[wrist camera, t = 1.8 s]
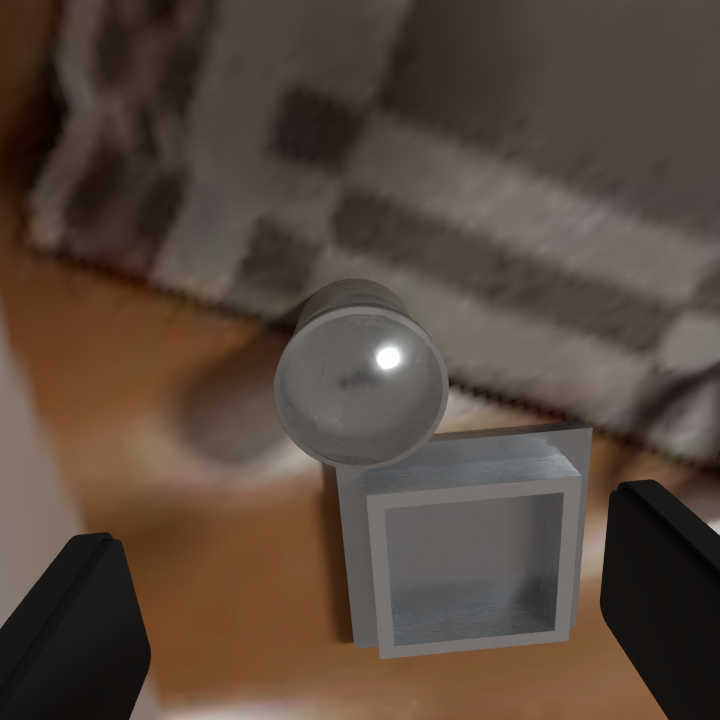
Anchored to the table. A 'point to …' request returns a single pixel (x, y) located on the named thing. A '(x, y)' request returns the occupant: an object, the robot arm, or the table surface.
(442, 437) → the duct collar
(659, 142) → the table surface
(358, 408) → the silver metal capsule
